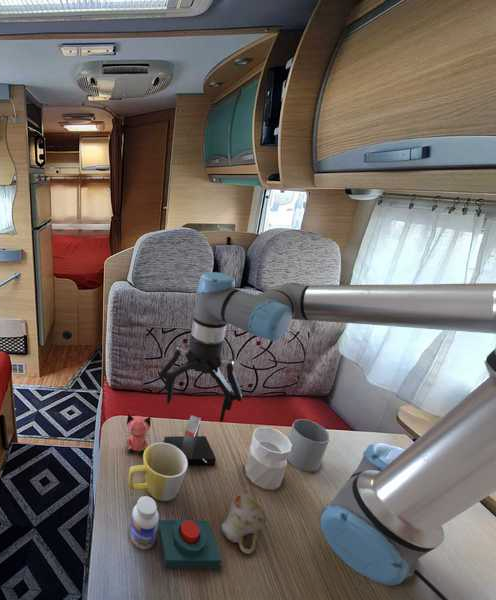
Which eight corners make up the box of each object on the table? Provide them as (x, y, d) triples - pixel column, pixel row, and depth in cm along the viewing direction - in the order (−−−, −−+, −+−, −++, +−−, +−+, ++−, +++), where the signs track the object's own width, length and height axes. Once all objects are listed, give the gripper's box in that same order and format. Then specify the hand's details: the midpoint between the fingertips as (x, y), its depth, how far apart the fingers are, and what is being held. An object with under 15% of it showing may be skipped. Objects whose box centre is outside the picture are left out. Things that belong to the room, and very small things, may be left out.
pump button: (195, 525, 69) (196, 520, 68) (200, 543, 66) (201, 538, 65) (178, 525, 69) (179, 520, 68) (182, 543, 66) (183, 538, 65)
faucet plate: (202, 439, 96) (204, 432, 95) (216, 470, 86) (218, 462, 85) (162, 439, 96) (163, 432, 95) (171, 470, 86) (172, 463, 85)
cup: (326, 472, 86) (337, 443, 83) (294, 471, 87) (304, 442, 83) (307, 447, 94) (316, 419, 91) (278, 446, 94) (286, 418, 91)
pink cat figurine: (123, 456, 90) (125, 422, 85) (124, 438, 96) (126, 405, 92) (149, 460, 89) (152, 425, 85) (148, 441, 95) (152, 408, 91)
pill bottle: (126, 542, 69) (129, 511, 65) (134, 519, 74) (137, 488, 70) (152, 554, 67) (156, 522, 63) (158, 530, 72) (162, 498, 68)
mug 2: (209, 531, 72) (221, 486, 72) (236, 529, 77) (247, 486, 77) (239, 557, 65) (252, 507, 66) (266, 553, 70) (278, 506, 71)
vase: (287, 479, 84) (299, 443, 80) (269, 496, 80) (280, 459, 75) (255, 456, 91) (264, 422, 87) (237, 471, 86) (245, 435, 82)
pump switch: (206, 526, 72) (209, 514, 71) (219, 567, 65) (223, 554, 64) (157, 526, 72) (159, 514, 71) (164, 567, 65) (166, 554, 63)
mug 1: (177, 473, 85) (182, 442, 81) (187, 510, 76) (192, 478, 72) (125, 471, 85) (127, 440, 82) (128, 509, 76) (130, 476, 72)
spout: (187, 435, 94) (191, 414, 91) (197, 439, 93) (200, 417, 90) (180, 455, 88) (184, 432, 85) (190, 459, 86) (194, 436, 84)
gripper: (265, 343, 75) (247, 416, 83) (161, 319, 86) (153, 386, 94) (264, 358, 69) (244, 436, 77) (151, 331, 80) (144, 401, 88)
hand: (194, 408), depth 86 cm, fingers open, 13 cm apart
